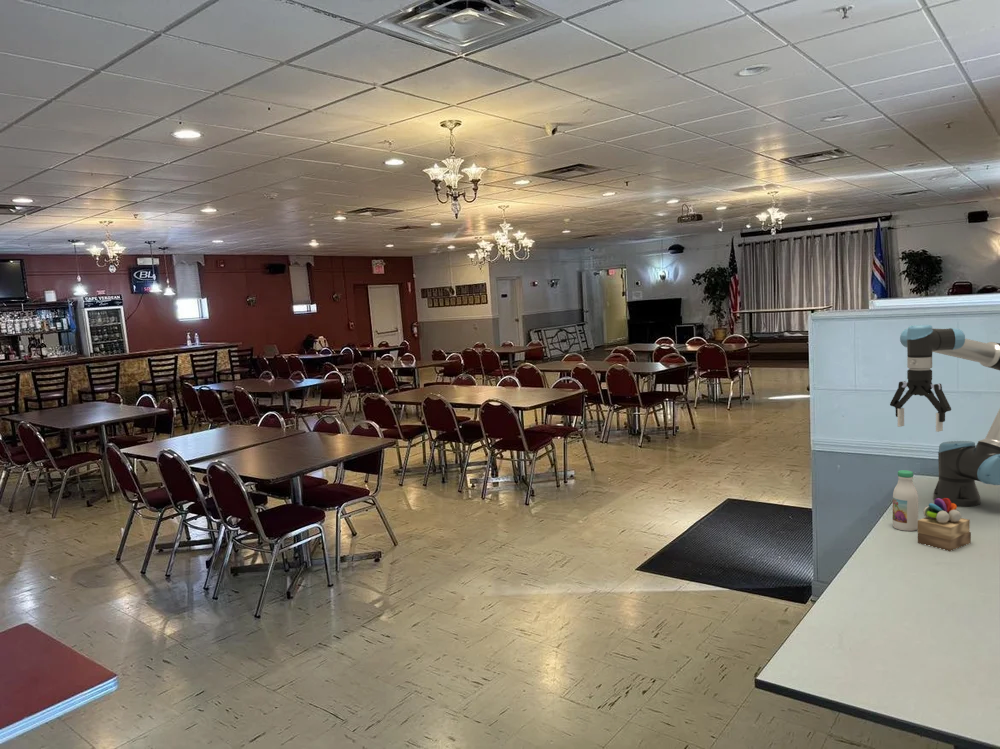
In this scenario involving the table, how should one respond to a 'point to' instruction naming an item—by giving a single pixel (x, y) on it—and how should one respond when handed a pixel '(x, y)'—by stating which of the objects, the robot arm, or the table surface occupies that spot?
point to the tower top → (943, 528)
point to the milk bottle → (905, 503)
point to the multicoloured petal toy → (942, 511)
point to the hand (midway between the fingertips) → (919, 428)
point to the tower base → (944, 541)
